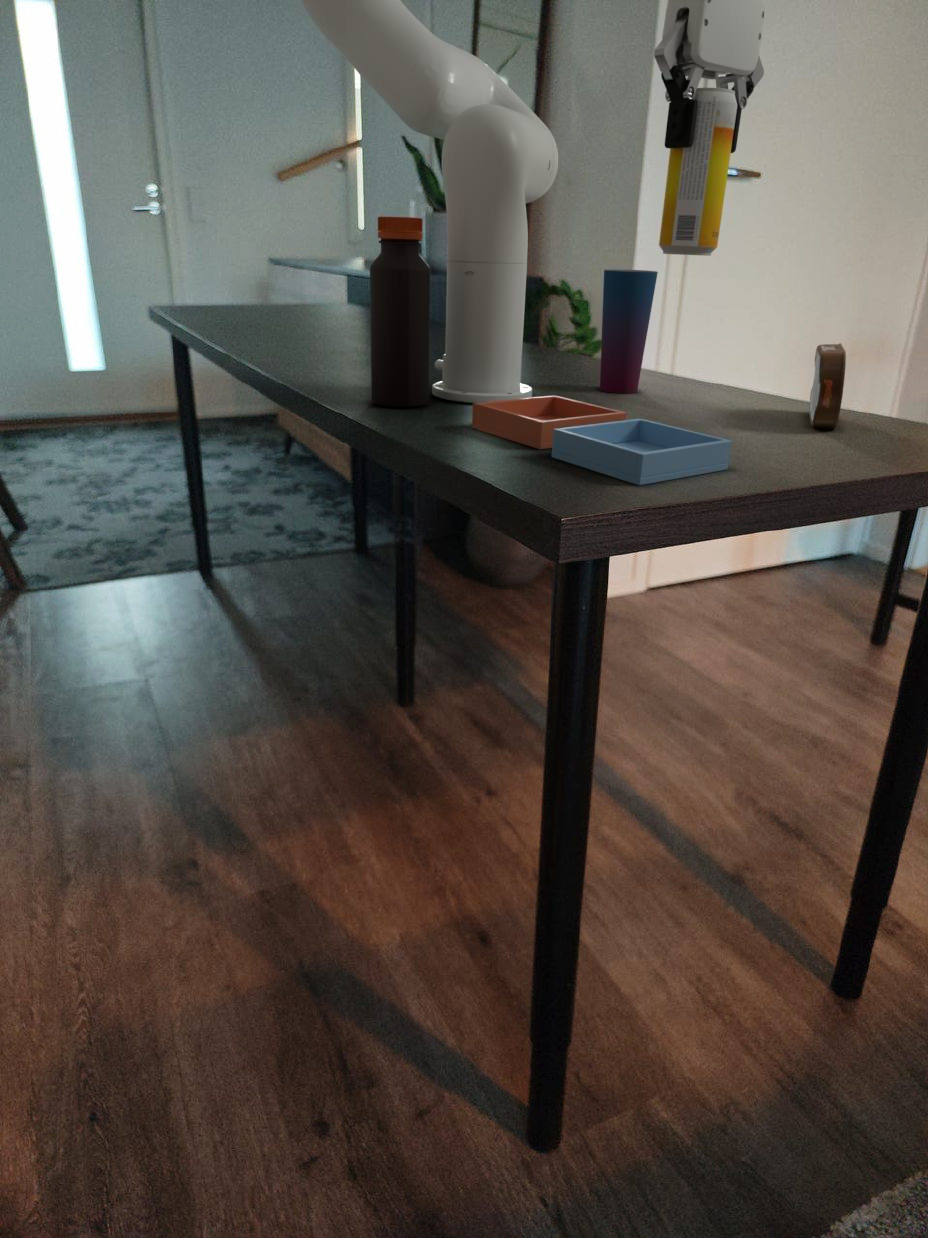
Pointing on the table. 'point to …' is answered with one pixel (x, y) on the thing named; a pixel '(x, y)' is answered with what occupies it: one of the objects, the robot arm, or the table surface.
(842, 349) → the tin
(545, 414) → the terracotta tray
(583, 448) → the blue tray
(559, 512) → the table surface
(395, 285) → the bottle
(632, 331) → the cup
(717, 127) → the beer can
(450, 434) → the table surface
